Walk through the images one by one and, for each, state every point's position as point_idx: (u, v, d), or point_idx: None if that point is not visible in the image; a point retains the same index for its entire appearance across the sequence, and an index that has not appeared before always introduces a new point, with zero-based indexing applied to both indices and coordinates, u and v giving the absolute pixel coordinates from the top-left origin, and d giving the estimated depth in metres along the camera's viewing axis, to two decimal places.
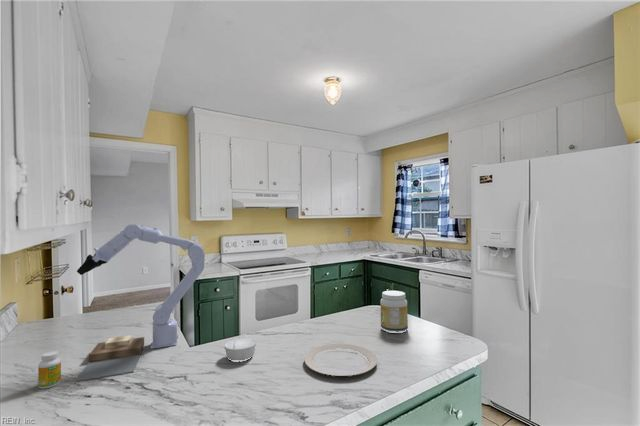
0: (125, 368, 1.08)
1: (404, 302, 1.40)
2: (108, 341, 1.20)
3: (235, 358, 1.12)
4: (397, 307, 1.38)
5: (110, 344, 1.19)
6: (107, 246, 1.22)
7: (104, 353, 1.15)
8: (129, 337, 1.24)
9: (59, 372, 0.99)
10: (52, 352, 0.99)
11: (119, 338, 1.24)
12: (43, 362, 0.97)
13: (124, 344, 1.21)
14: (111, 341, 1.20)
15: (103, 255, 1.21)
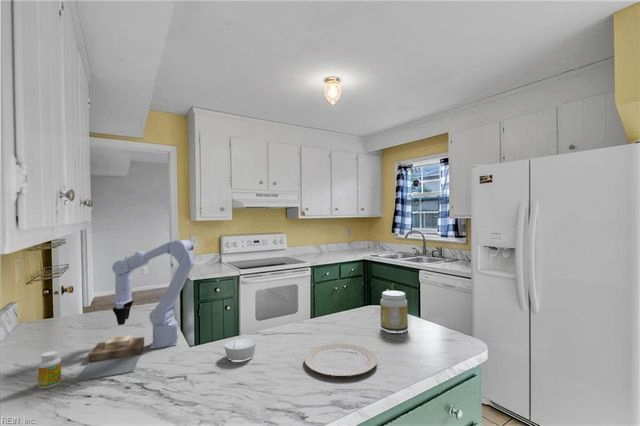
0: (125, 368, 1.08)
1: (404, 302, 1.40)
2: (108, 341, 1.20)
3: (235, 358, 1.12)
4: (397, 307, 1.38)
5: (110, 344, 1.19)
6: (118, 292, 1.28)
7: (104, 353, 1.15)
8: (129, 337, 1.24)
9: (59, 372, 0.99)
10: (52, 352, 0.99)
11: (119, 338, 1.24)
12: (43, 362, 0.97)
13: (124, 344, 1.21)
14: (111, 341, 1.20)
15: (123, 299, 1.28)
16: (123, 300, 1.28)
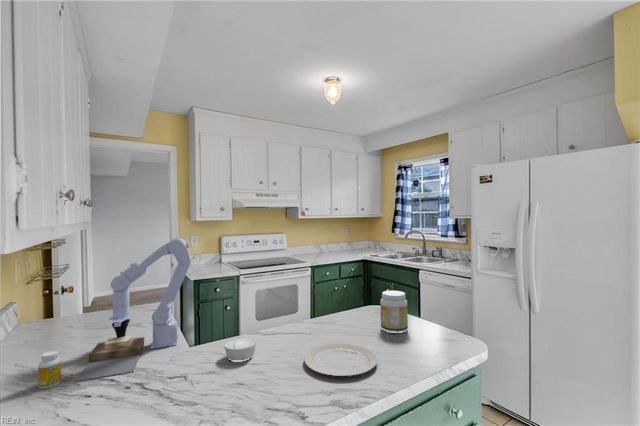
0: (125, 368, 1.08)
1: (404, 302, 1.40)
2: (108, 342, 1.20)
3: (235, 358, 1.12)
4: (397, 307, 1.38)
5: (110, 345, 1.19)
6: (115, 309, 1.23)
7: (104, 353, 1.15)
8: (129, 338, 1.24)
9: (59, 372, 0.99)
10: (52, 352, 0.99)
11: (119, 339, 1.23)
12: (43, 362, 0.97)
13: (124, 345, 1.20)
14: (111, 342, 1.20)
15: (120, 317, 1.24)
16: (121, 317, 1.24)
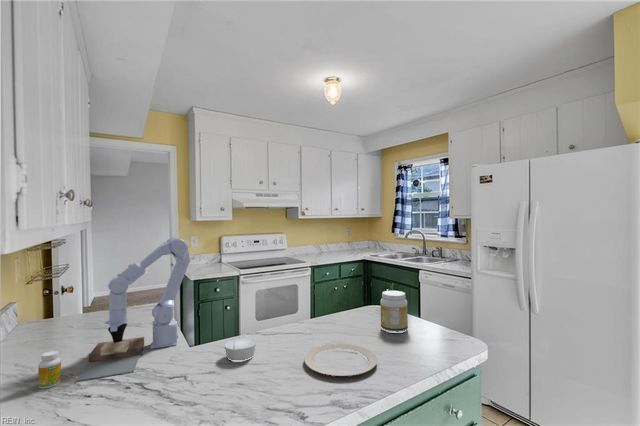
0: (125, 368, 1.08)
1: (404, 302, 1.40)
2: (104, 347, 1.15)
3: (235, 358, 1.12)
4: (397, 307, 1.38)
5: (106, 350, 1.13)
6: (112, 313, 1.18)
7: None
8: (126, 343, 1.19)
9: (59, 372, 0.99)
10: (52, 352, 0.99)
11: (115, 344, 1.18)
12: (43, 362, 0.97)
13: (121, 350, 1.15)
14: (107, 347, 1.14)
15: (117, 321, 1.18)
16: (117, 322, 1.18)
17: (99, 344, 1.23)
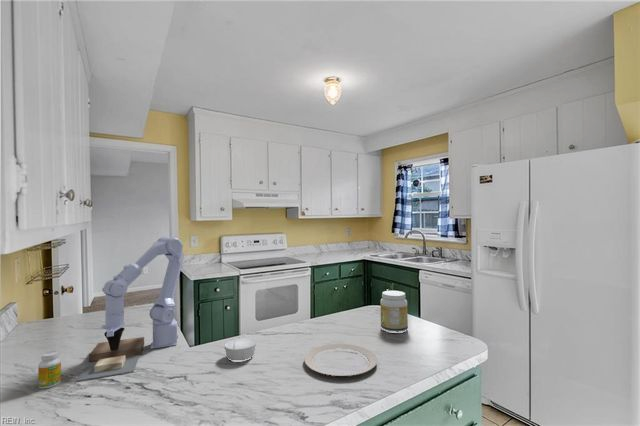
0: (125, 368, 1.08)
1: (404, 302, 1.40)
2: None
3: (235, 358, 1.12)
4: (397, 307, 1.38)
5: None
6: (108, 317, 1.13)
7: (104, 353, 1.15)
8: None
9: (59, 372, 0.99)
10: (52, 352, 0.99)
11: None
12: (43, 362, 0.97)
13: None
14: None
15: (114, 325, 1.13)
16: (114, 326, 1.13)
17: (99, 344, 1.23)
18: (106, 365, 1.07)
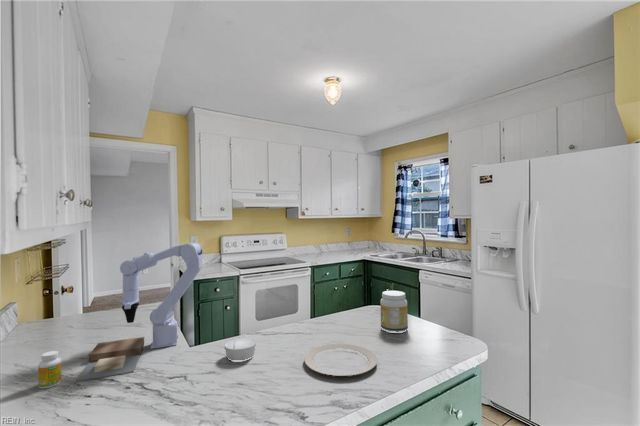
0: (125, 368, 1.08)
1: (404, 302, 1.40)
2: None
3: (235, 358, 1.12)
4: (397, 307, 1.38)
5: None
6: (125, 292, 1.27)
7: (104, 353, 1.15)
8: None
9: (59, 372, 0.99)
10: (52, 352, 0.99)
11: None
12: (43, 362, 0.97)
13: None
14: None
15: (130, 300, 1.27)
16: (130, 300, 1.27)
17: (99, 344, 1.23)
18: (106, 365, 1.07)
